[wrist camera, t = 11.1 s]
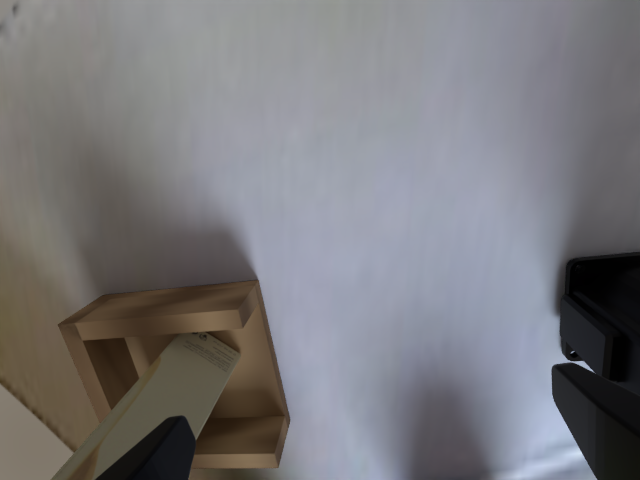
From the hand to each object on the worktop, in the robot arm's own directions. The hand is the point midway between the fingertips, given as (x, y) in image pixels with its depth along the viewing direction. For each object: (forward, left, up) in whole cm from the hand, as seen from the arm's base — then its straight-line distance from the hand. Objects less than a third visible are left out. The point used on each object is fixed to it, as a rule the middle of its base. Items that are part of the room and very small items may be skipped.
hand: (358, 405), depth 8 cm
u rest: (+13, +8, -13) cm, 20 cm away
